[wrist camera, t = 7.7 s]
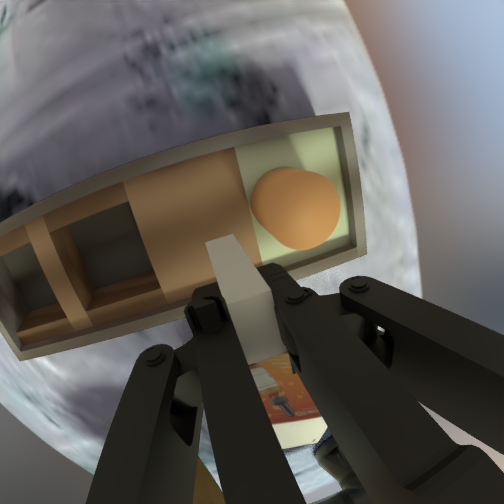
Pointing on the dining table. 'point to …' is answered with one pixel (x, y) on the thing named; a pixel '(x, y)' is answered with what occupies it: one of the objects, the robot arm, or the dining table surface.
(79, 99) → the dining table surface
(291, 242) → the brown egg
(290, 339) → the robot arm
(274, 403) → the small box
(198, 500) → the plant pot
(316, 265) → the track
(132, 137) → the dining table surface
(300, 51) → the dining table surface
